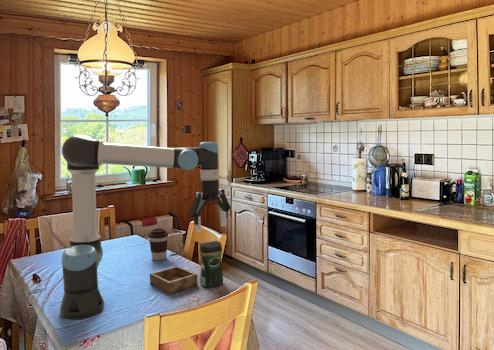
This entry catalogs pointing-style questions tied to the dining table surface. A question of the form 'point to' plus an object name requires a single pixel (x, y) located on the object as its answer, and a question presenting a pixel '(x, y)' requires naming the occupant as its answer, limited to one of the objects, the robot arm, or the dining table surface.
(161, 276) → the walnut caddy
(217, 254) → the coffee jar
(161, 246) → the coffee cup
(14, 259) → the dining table surface
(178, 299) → the dining table surface
